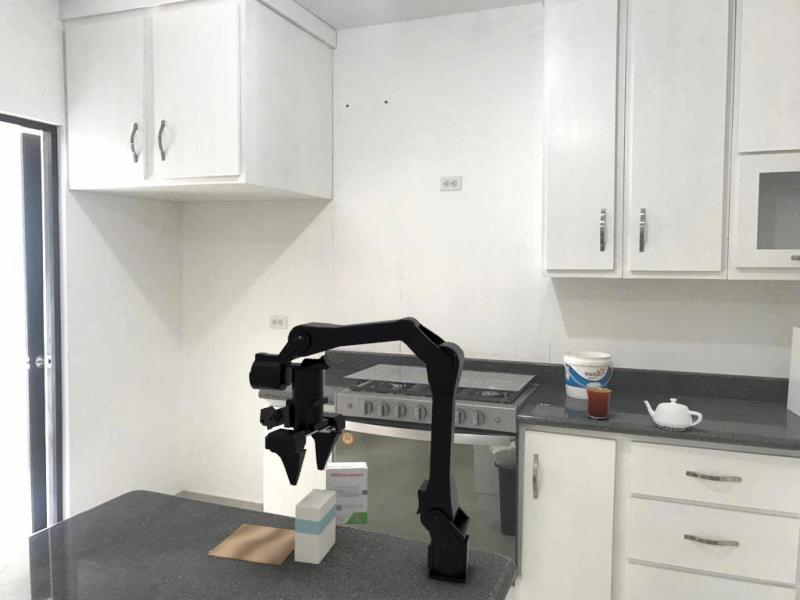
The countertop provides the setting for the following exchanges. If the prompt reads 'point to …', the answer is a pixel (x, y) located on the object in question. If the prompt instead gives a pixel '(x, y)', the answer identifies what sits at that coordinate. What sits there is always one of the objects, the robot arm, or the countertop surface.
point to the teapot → (673, 415)
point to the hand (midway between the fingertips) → (307, 477)
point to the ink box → (349, 490)
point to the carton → (315, 526)
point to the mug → (598, 402)
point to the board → (257, 545)
